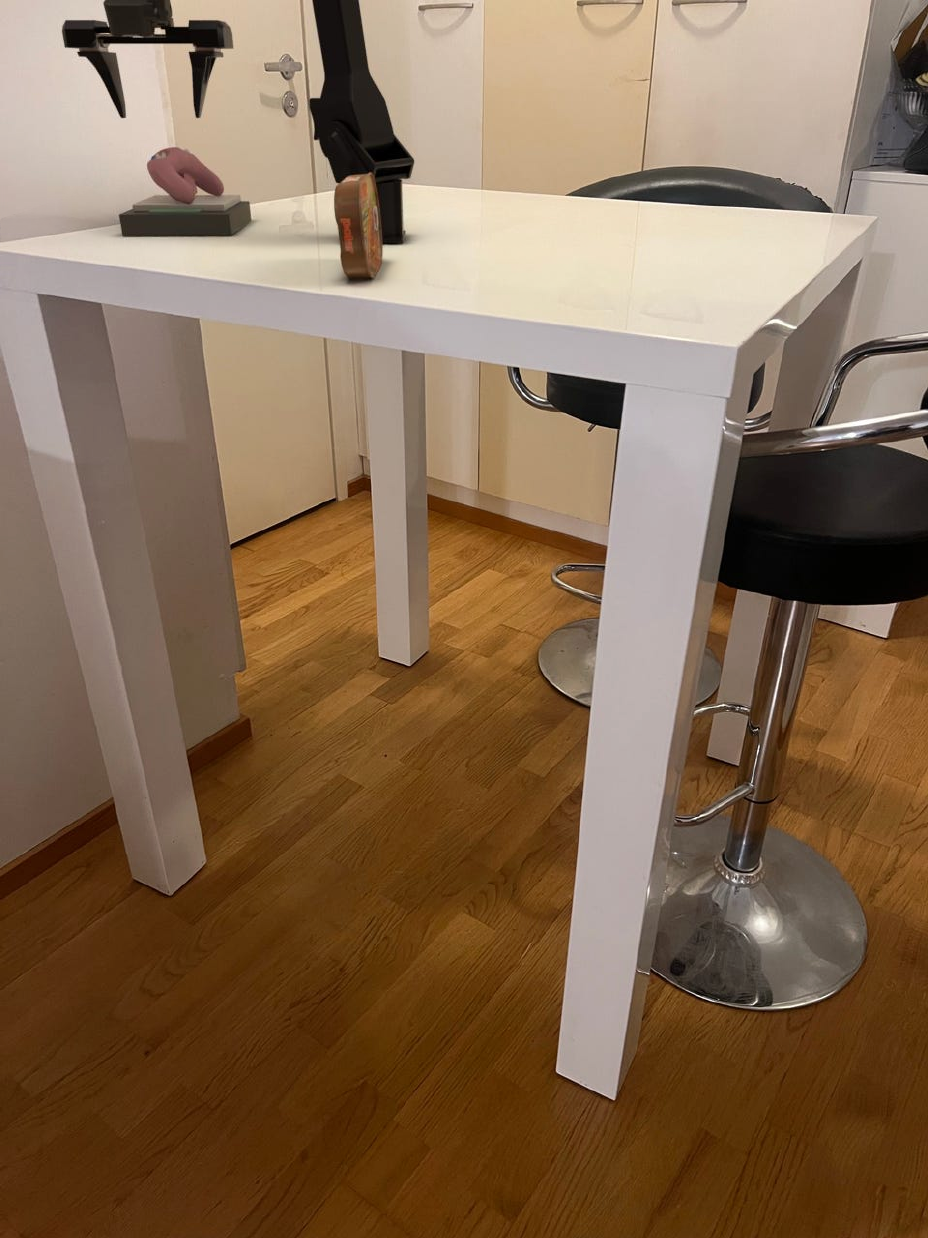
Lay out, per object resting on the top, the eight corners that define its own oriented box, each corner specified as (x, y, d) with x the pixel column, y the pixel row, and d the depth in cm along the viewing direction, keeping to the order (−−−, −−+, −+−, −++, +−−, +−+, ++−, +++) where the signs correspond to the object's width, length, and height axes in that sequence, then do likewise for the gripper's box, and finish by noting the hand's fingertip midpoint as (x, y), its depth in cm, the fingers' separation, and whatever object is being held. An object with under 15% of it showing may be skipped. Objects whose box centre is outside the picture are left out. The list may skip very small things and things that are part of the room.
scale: (251, 220, 123) (248, 194, 121) (231, 235, 112) (228, 206, 110) (152, 221, 123) (148, 194, 121) (122, 235, 111) (117, 206, 110)
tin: (370, 285, 85) (364, 183, 81) (335, 285, 85) (328, 183, 81) (385, 257, 98) (381, 168, 94) (355, 257, 98) (350, 168, 94)
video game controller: (202, 207, 121) (171, 153, 119) (229, 190, 120) (199, 135, 117) (166, 217, 113) (132, 159, 110) (194, 199, 111) (161, 140, 109)
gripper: (29, -45, 100) (61, 120, 108) (204, -44, 101) (222, 120, 109) (66, -34, 110) (93, 116, 118) (225, -34, 110) (241, 116, 118)
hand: (160, 117), depth 115 cm, fingers open, 9 cm apart
